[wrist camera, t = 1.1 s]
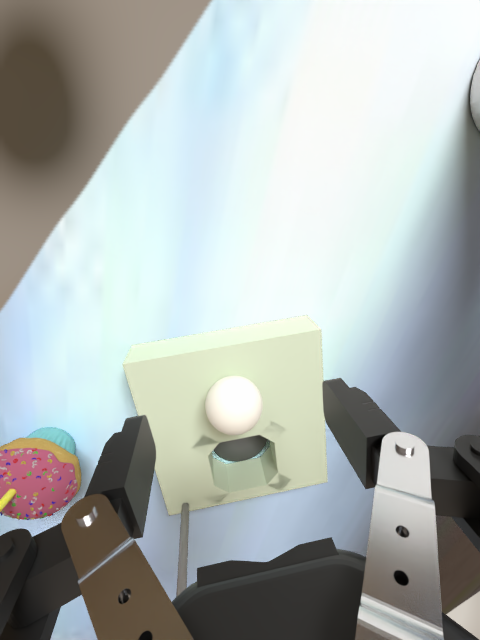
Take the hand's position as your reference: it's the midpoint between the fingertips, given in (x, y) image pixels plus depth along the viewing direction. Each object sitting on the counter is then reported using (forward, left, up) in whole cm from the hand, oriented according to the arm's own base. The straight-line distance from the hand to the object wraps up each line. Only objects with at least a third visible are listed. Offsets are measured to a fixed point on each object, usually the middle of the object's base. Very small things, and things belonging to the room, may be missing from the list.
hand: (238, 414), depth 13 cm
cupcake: (+20, +13, -18) cm, 30 cm away
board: (0, +13, -18) cm, 22 cm away
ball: (0, +8, -12) cm, 14 cm away
